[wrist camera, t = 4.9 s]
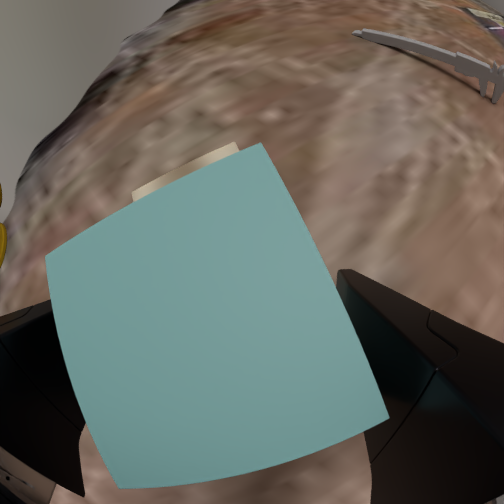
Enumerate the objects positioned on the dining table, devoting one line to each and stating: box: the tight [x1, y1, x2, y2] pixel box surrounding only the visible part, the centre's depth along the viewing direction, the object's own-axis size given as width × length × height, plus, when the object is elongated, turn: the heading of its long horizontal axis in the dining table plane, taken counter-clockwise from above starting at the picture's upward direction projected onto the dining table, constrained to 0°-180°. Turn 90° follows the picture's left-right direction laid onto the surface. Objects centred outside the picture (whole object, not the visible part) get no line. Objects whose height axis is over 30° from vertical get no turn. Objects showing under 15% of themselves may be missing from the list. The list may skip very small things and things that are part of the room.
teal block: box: [45, 143, 389, 489], centre depth 9 cm, size 5×5×11 cm
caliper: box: [352, 28, 504, 103], centre depth 22 cm, size 21×1×6 cm, turn 60°
